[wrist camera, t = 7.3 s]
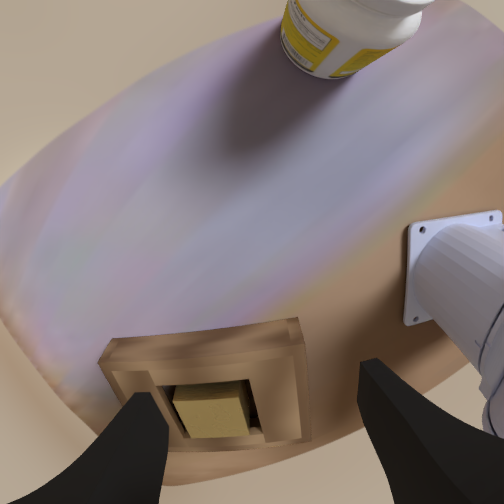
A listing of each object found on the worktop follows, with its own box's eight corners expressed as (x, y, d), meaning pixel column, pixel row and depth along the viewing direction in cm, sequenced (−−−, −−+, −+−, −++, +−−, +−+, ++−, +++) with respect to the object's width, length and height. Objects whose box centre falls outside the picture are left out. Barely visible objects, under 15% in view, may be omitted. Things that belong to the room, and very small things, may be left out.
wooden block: (239, 359, 22) (238, 397, 18) (249, 398, 23) (249, 435, 19) (182, 364, 22) (172, 401, 18) (197, 402, 23) (191, 438, 19)
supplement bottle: (372, 22, 14) (457, -44, 4) (356, 93, 15) (457, 55, 6) (289, -6, 13) (322, -106, 4) (268, 65, 15) (292, -18, 6)
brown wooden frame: (297, 317, 20) (304, 343, 17) (306, 415, 24) (311, 441, 21) (111, 338, 21) (97, 362, 18) (158, 427, 24) (152, 450, 22)
